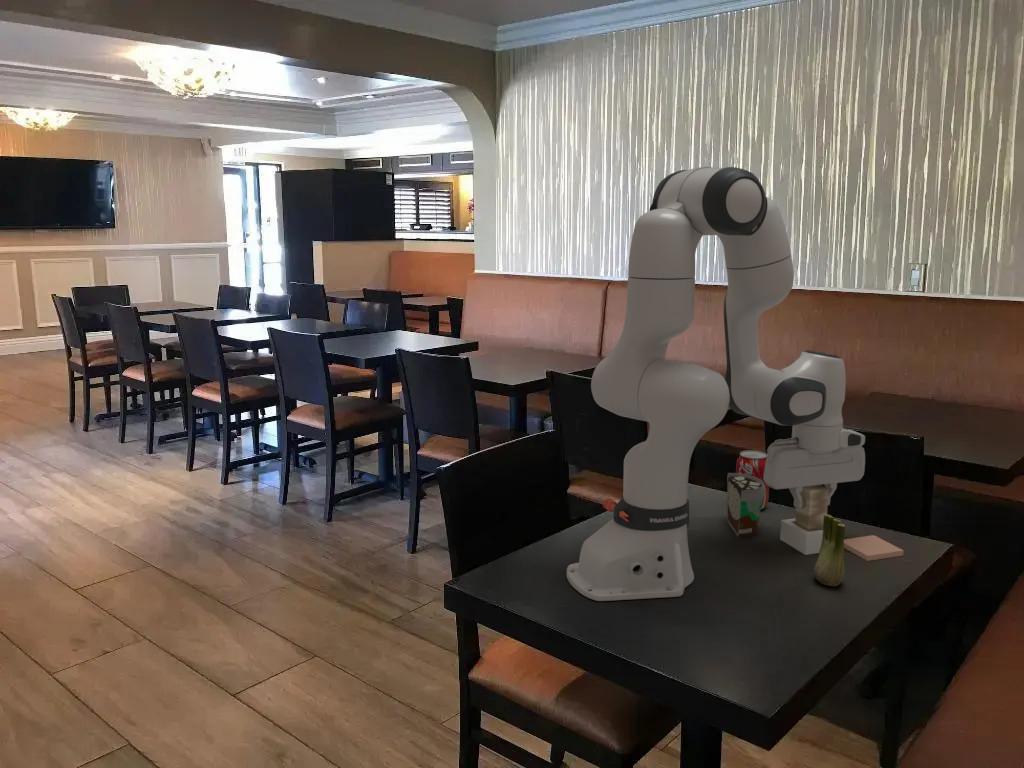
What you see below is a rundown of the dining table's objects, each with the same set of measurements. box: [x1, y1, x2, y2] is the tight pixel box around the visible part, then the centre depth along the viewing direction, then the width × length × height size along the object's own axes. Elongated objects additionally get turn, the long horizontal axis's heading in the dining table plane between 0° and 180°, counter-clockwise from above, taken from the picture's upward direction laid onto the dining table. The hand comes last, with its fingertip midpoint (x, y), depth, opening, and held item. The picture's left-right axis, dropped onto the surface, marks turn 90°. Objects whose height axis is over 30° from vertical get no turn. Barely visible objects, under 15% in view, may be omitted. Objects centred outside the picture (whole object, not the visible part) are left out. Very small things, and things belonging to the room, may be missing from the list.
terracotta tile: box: [843, 534, 904, 562], centre depth 162 cm, size 8×8×1 cm
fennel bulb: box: [813, 513, 846, 587], centre depth 147 cm, size 6×5×12 cm
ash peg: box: [795, 485, 829, 532], centre depth 163 cm, size 4×4×10 cm
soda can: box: [735, 449, 770, 511], centre depth 185 cm, size 7×7×12 cm
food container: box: [726, 472, 766, 538], centre depth 173 cm, size 12×6×10 cm, turn 179°
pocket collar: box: [779, 517, 823, 556], centre depth 164 cm, size 8×8×4 cm
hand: (811, 506), depth 163 cm, fingers closed on ash peg, 4 cm apart
